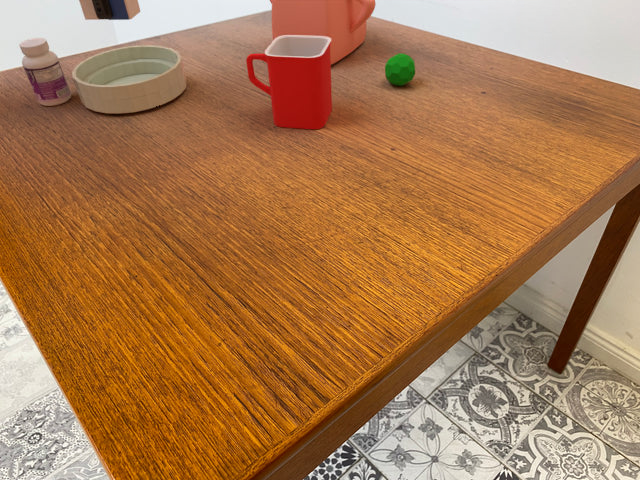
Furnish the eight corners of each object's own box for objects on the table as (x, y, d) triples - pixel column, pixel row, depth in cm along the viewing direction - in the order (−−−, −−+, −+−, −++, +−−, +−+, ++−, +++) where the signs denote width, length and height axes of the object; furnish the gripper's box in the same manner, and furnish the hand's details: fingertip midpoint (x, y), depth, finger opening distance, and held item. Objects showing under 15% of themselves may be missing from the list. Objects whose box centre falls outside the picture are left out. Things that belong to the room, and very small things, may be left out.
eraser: (85, 20, 74) (76, -7, 72) (96, 12, 77) (88, -14, 75) (131, 19, 74) (123, -8, 71) (140, 11, 76) (134, -15, 74)
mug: (335, 105, 80) (333, 36, 74) (324, 131, 74) (320, 58, 67) (262, 101, 83) (253, 33, 76) (245, 125, 77) (234, 54, 70)
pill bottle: (37, 97, 88) (13, 40, 82) (70, 90, 90) (49, 33, 83) (40, 110, 84) (15, 50, 78) (74, 102, 86) (52, 43, 80)
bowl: (63, 115, 82) (51, 85, 79) (110, 72, 95) (101, 45, 92) (166, 118, 80) (158, 87, 77) (200, 73, 93) (194, 45, 90)
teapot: (354, 74, 89) (354, -13, 80) (251, 55, 98) (240, -25, 89) (400, 37, 102) (405, -42, 93) (305, 23, 111) (301, -50, 102)
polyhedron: (379, 87, 85) (380, 58, 82) (390, 76, 88) (391, 48, 85) (409, 92, 83) (411, 63, 80) (418, 80, 86) (420, 51, 83)
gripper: (69, -136, 70) (108, -1, 81) (9, -124, 59) (64, 30, 70) (121, -139, 69) (154, -1, 80) (70, -127, 58) (116, 30, 69)
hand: (111, 13), depth 75 cm, fingers closed on eraser, 3 cm apart
